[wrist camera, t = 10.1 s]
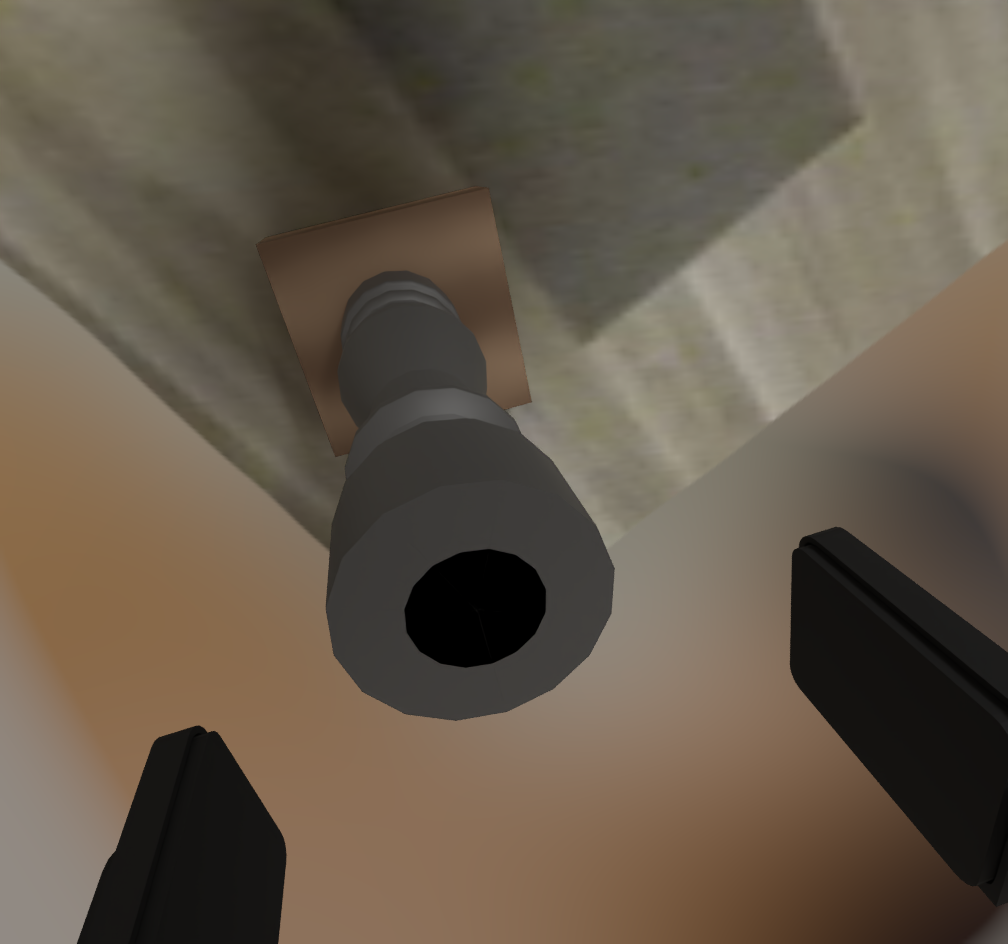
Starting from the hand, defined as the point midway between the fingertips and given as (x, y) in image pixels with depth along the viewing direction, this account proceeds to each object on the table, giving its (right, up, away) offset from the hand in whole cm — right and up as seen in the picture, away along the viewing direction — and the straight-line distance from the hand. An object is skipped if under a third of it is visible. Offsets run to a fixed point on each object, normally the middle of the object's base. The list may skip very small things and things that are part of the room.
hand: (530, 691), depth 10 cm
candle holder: (-6, +11, +25) cm, 28 cm away
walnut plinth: (-7, +13, +28) cm, 32 cm away
